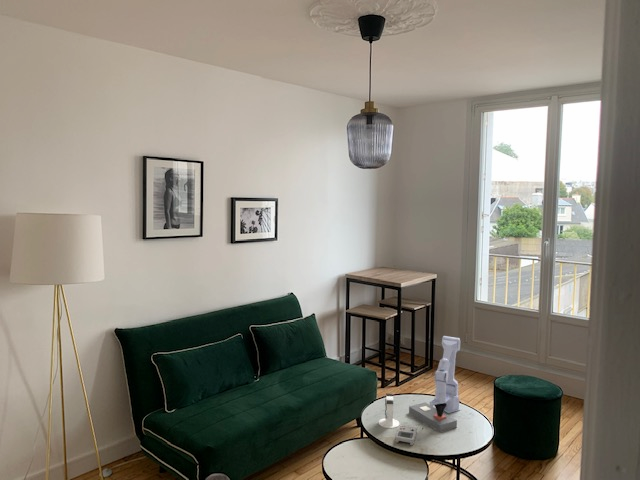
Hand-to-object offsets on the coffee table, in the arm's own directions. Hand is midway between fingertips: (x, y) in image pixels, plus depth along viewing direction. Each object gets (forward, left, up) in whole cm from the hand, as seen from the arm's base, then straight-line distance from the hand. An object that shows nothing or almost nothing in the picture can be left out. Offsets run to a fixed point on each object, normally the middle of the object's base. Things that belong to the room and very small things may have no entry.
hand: (439, 415), depth 268 cm
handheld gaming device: (+26, +3, -6) cm, 27 cm away
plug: (0, -12, -4) cm, 13 cm away
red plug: (0, 0, -4) cm, 4 cm away
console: (0, -6, -5) cm, 8 cm away
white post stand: (+24, -14, -5) cm, 28 cm away
